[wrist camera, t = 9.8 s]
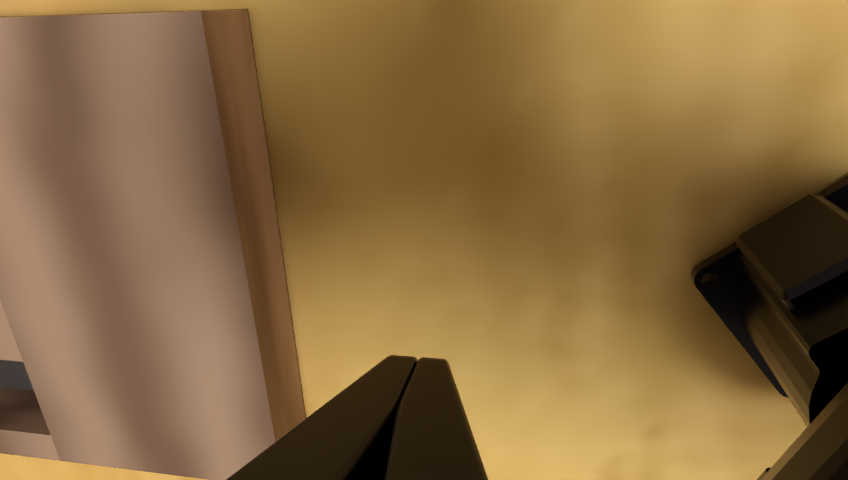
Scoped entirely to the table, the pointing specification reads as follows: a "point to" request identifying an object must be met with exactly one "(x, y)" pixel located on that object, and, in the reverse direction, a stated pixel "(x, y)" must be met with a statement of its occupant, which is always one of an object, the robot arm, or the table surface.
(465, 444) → the robot arm
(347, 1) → the table surface
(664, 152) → the table surface
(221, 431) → the brown piece
